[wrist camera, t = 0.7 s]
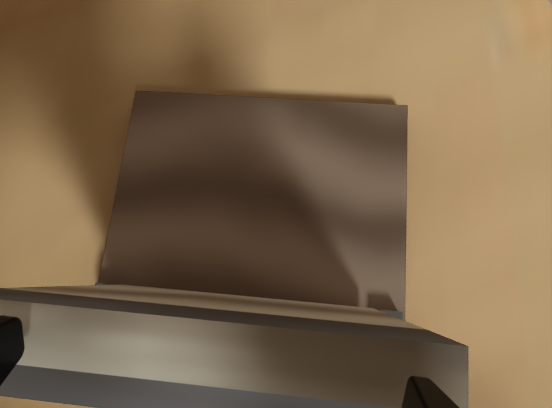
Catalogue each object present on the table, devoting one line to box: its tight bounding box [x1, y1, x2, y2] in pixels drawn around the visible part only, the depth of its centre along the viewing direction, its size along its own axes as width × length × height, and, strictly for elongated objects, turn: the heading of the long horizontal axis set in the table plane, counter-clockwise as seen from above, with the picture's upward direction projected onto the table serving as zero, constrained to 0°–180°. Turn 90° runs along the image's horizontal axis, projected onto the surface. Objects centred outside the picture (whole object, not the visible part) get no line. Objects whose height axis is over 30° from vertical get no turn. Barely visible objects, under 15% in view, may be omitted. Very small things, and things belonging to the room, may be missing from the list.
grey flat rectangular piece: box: [0, 284, 468, 408], centre depth 15 cm, size 12×14×2 cm
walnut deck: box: [96, 91, 408, 321], centre depth 24 cm, size 14×18×2 cm
